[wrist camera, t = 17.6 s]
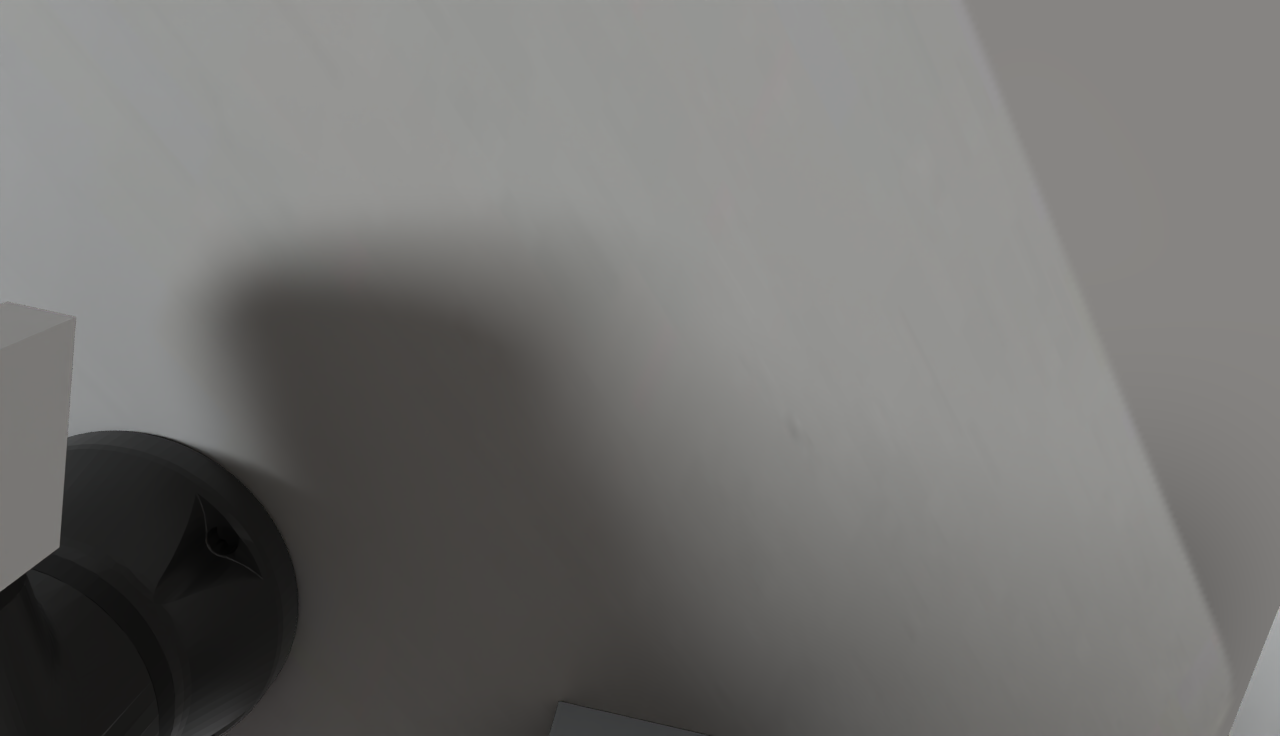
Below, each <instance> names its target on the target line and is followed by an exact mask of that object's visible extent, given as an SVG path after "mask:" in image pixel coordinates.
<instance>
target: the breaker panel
mask: <svg viewBox="0 0 1280 736" xmlns="http://www.w3.org/2000/svg"><path fill="white" fill-rule="evenodd" d="M549 736H709V735H704V734H700V733H696V732H691V731H687V730H683V729H678V728H674V727H670V726H665V725H661V724H656V723H652V722H648V721H643V720H639V719H635V718H630V717H626V716H622V715H617V714H613V713H609V712H604V711H600V710H596V709H591V708H587V707H582V706H578V705H574V704H569V703H565V702H561V701H559V703H558V706H557V710H556V713H555V717H554V720H553V724H552V728H551V731H550V735H549Z"/></svg>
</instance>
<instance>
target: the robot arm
mask: <svg viewBox="0 0 1280 736" xmlns="http://www.w3.org/2000/svg"><path fill="white" fill-rule="evenodd" d="M75 324H76V317H74V316H70V315H65V314H61V313H56V312H52V311H47V310H43V309H38V308H34V307H29V306H25V305H20V304H16V303H11V302H5V303H2V304H0V736H221V735H223V734H224V733H226V732H227V731H228V730H230V729H231V728H232V727H234V726H235V725H236V724H237V723H238V722H240V721H241V720H242V719H243V718H244V717H245V716H246V715H247V714H248V713H249V712H250V711H251V710H252V709H253V707H254V706H255V705H256V704H257V703H258V701H259V700H260V699H261V697H262V696H263V694H264V693H265V692H266V690H267V689H268V688H269V686H270V685H271V684H272V682H273V681H274V679H275V678H276V677H277V675H278V674H279V672H280V670H281V668H282V667H283V665H284V663H285V661H286V659H287V657H288V654H289V652H290V649H291V646H292V643H293V639H294V635H295V630H296V625H297V615H298V596H297V586H296V579H295V575H294V570H293V566H292V563H291V560H290V556H289V554H288V551H287V548H286V546H285V544H284V541H283V539H282V537H281V535H280V533H279V531H278V530H277V528H276V526H275V524H274V522H273V521H272V519H271V518H270V516H269V515H268V513H267V512H266V511H265V509H264V508H263V507H262V505H261V504H260V503H259V501H258V500H257V499H256V498H255V497H254V496H253V495H252V493H251V492H250V491H249V490H248V489H247V488H246V487H245V486H244V485H243V484H242V483H241V482H240V481H238V480H237V479H236V478H235V477H234V476H233V475H232V474H230V473H229V472H228V471H226V470H225V469H224V468H222V467H221V466H220V465H218V464H217V463H215V462H214V461H212V460H211V459H209V458H207V457H205V456H204V455H202V454H200V453H198V452H196V451H194V450H192V449H190V448H188V447H186V446H183V445H181V444H179V443H176V442H173V441H170V440H167V439H164V438H161V437H157V436H153V435H149V434H143V433H137V432H129V431H98V432H90V433H84V434H79V435H75V436H71V437H68V438H67V435H68V421H69V407H70V394H71V380H72V366H73V352H74V338H75ZM1228 736H1280V607H1279V609H1278V612H1277V614H1276V617H1275V619H1274V622H1273V624H1272V627H1271V629H1270V632H1269V634H1268V637H1267V639H1266V642H1265V645H1264V647H1263V649H1262V652H1261V654H1260V657H1259V660H1258V662H1257V665H1256V667H1255V670H1254V672H1253V675H1252V677H1251V680H1250V682H1249V685H1248V687H1247V690H1246V693H1245V695H1244V697H1243V700H1242V703H1241V705H1240V708H1239V710H1238V713H1237V715H1236V718H1235V720H1234V723H1233V725H1232V728H1231V730H1230V733H1229V735H1228Z"/></svg>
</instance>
